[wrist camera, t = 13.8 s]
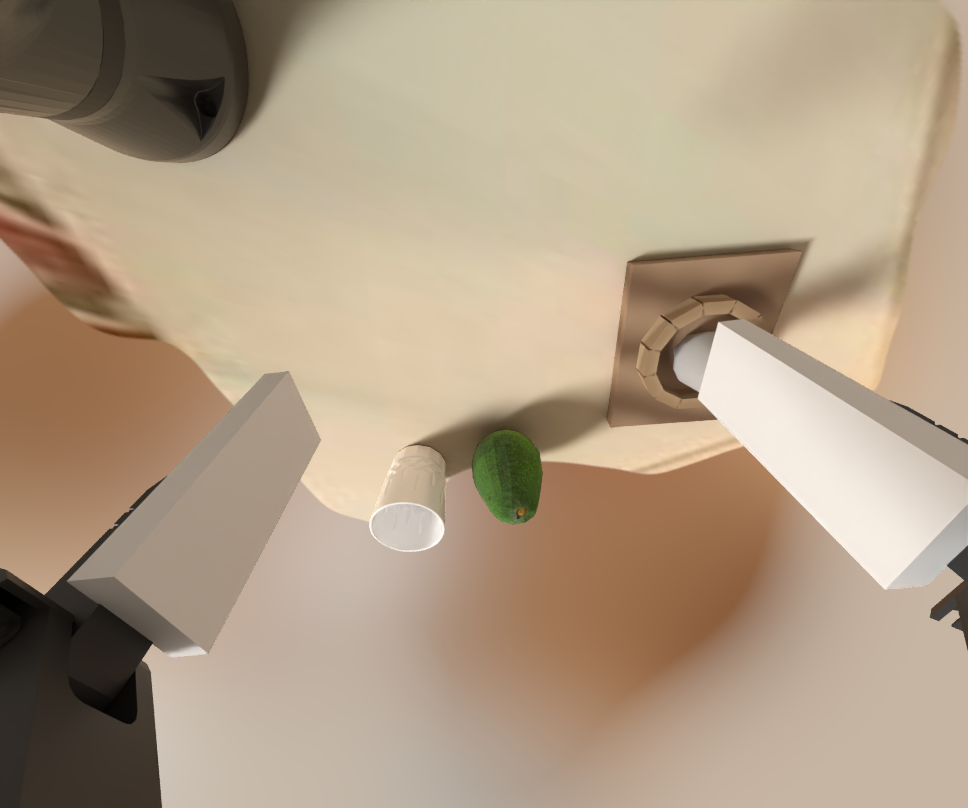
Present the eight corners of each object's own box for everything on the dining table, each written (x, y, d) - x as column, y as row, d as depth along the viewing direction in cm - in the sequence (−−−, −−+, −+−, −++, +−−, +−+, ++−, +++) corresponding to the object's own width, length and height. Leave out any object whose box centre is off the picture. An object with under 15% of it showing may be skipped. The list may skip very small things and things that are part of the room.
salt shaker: (667, 327, 36) (754, 394, 25) (727, 319, 35) (842, 382, 24) (661, 379, 39) (735, 459, 28) (716, 371, 38) (813, 449, 27)
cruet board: (627, 261, 34) (642, 270, 31) (790, 248, 33) (820, 255, 30) (606, 419, 43) (616, 437, 40) (733, 410, 43) (752, 427, 40)
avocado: (535, 462, 47) (551, 541, 36) (474, 466, 47) (474, 546, 37) (535, 411, 42) (554, 484, 32) (469, 415, 43) (467, 490, 32)
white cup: (435, 494, 49) (426, 559, 41) (380, 474, 47) (359, 539, 39) (460, 454, 46) (457, 517, 37) (402, 431, 44) (384, 492, 35)
